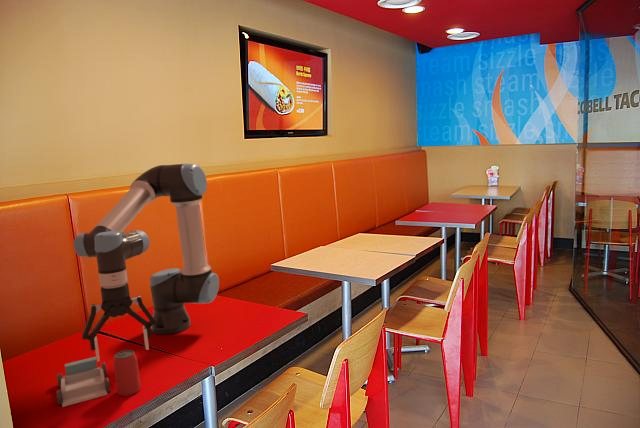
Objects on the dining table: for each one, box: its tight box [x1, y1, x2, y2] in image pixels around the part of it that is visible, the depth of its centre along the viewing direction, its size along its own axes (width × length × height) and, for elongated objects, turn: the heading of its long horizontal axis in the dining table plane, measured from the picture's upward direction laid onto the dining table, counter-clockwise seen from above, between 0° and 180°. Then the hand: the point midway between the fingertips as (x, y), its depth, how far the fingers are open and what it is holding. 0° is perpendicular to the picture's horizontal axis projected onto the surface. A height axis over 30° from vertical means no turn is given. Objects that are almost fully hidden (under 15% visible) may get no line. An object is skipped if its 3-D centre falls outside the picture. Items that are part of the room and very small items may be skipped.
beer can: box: [113, 349, 141, 397], centre depth 148 cm, size 7×7×12 cm
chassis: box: [56, 356, 111, 408], centre depth 152 cm, size 17×14×6 cm
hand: (123, 354), depth 147 cm, fingers open, 13 cm apart
